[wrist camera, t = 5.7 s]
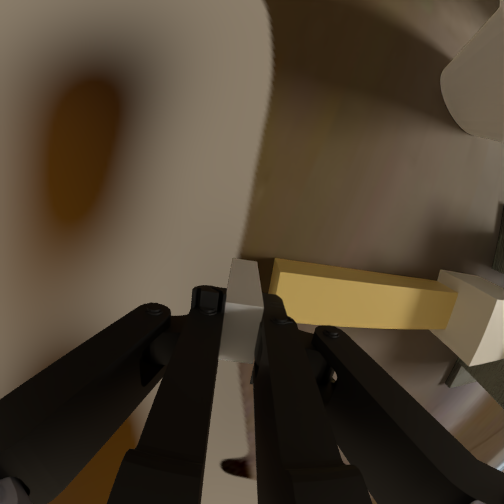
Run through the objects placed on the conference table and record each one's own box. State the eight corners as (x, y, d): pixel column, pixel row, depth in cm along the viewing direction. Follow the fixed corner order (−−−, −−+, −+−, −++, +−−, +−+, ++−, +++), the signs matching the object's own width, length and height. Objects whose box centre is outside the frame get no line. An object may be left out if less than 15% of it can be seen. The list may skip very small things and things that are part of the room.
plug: (277, 242, 18) (297, 278, 11) (478, 276, 19) (528, 302, 12) (264, 312, 19) (274, 376, 12) (462, 324, 20) (505, 358, 13)
